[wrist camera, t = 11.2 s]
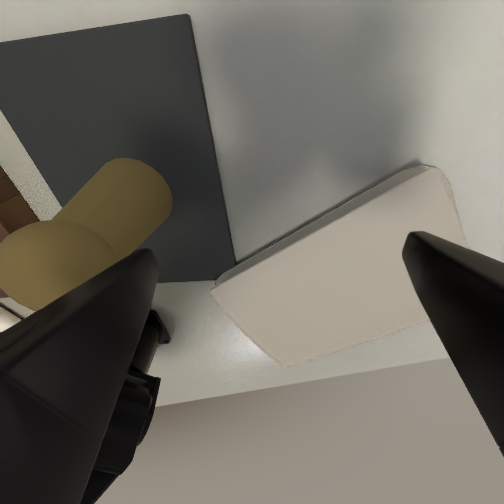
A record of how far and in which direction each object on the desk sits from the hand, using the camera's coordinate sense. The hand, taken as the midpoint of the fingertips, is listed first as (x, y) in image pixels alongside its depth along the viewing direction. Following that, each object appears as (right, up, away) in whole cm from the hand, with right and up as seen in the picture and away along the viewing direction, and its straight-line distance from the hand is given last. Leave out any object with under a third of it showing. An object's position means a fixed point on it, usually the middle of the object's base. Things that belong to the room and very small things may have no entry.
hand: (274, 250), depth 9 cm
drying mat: (-10, +5, +12) cm, 16 cm away
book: (+8, -3, +17) cm, 19 cm away
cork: (-10, +5, +12) cm, 16 cm away
